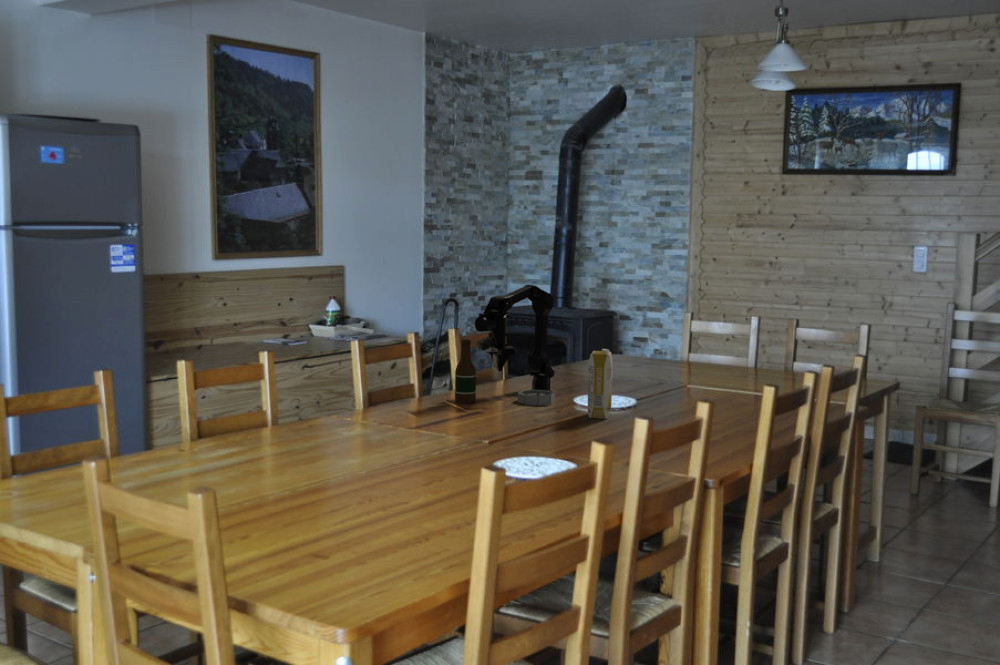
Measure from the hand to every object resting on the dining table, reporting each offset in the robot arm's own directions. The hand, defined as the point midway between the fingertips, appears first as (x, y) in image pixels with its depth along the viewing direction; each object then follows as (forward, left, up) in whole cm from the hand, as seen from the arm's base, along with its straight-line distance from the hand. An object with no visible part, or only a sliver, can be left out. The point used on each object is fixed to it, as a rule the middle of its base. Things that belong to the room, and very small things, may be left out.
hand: (497, 370), depth 375 cm
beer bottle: (+15, +3, -11) cm, 19 cm away
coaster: (0, 0, -11) cm, 11 cm away
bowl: (-10, +12, -11) cm, 19 cm away
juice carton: (-19, +42, -11) cm, 47 cm away
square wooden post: (0, 0, -3) cm, 3 cm away
